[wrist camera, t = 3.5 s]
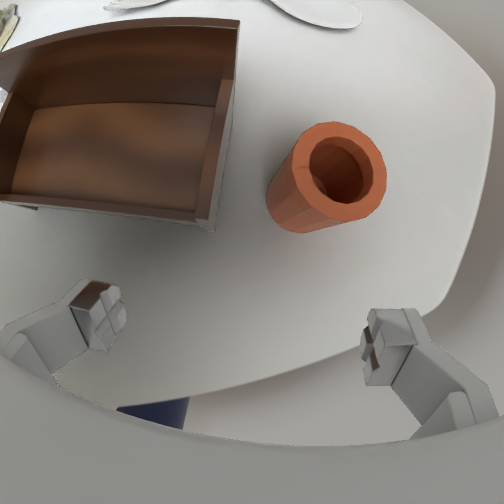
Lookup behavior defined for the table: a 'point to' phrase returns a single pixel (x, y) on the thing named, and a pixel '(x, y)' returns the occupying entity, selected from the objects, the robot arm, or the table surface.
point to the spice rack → (121, 119)
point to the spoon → (290, 10)
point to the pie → (7, 23)
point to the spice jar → (327, 179)
